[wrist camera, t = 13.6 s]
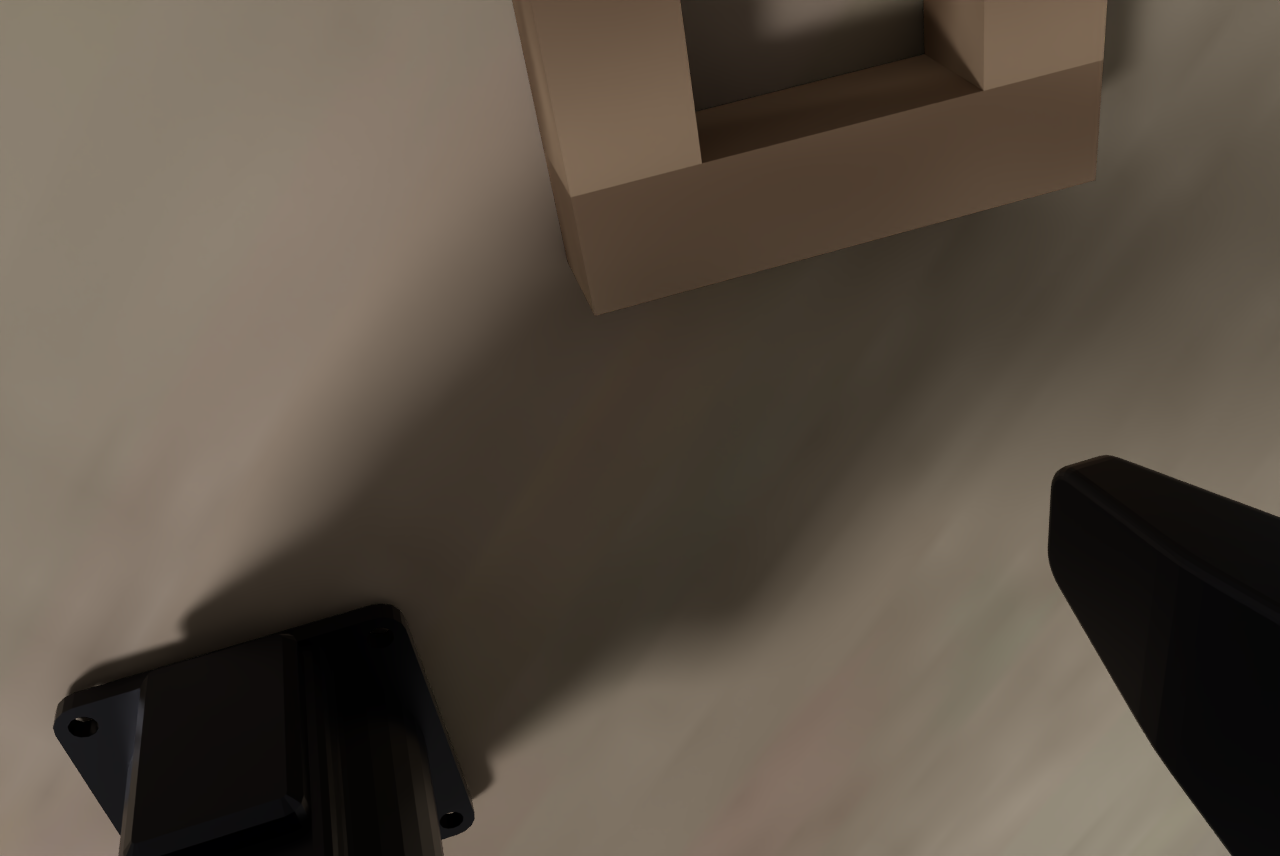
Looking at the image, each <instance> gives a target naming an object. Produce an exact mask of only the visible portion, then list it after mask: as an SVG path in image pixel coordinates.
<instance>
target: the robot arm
mask: <svg viewBox="0 0 1280 856" xmlns="http://www.w3.org/2000/svg"><path fill="white" fill-rule="evenodd" d="M1048 558H1049V564H1050V567H1051V571H1052V573H1053V576H1054V578H1055V581H1056V582H1057V584H1058V586H1059V588H1060V590H1061V591H1062V593H1063V595H1064V597H1065V598H1066V600H1067V602H1068V603H1069V605H1070V607H1071V609H1072V610H1073V612H1074V614H1075V616H1076V617H1077V619H1078V621H1079V622H1080V624H1081V626H1082V628H1083V629H1084V631H1085V633H1086V634H1087V636H1088V638H1089V640H1090V641H1091V643H1092V645H1093V647H1094V648H1095V650H1096V652H1097V653H1098V655H1099V657H1100V659H1101V660H1102V662H1103V664H1104V665H1105V667H1106V669H1107V671H1108V672H1109V674H1110V676H1111V678H1112V679H1113V681H1114V683H1115V684H1116V686H1117V688H1118V690H1119V691H1120V693H1121V695H1122V696H1123V698H1124V700H1125V702H1126V703H1127V705H1128V707H1129V709H1130V710H1131V712H1132V714H1133V715H1134V717H1135V719H1136V721H1137V722H1138V724H1139V726H1140V727H1141V729H1142V730H1143V732H1144V734H1145V735H1146V737H1147V738H1148V740H1149V742H1150V743H1151V745H1152V747H1153V748H1154V750H1155V751H1156V753H1157V754H1158V755H1159V757H1160V758H1161V760H1162V761H1163V763H1164V764H1165V765H1166V767H1167V768H1168V770H1169V771H1170V773H1171V774H1172V775H1173V777H1174V778H1175V780H1176V781H1177V782H1178V784H1179V785H1180V786H1181V788H1182V789H1183V790H1184V792H1185V793H1186V795H1187V796H1188V797H1189V799H1190V800H1191V801H1192V803H1193V804H1194V805H1195V807H1196V808H1197V809H1198V811H1199V812H1200V813H1201V815H1202V816H1203V818H1204V819H1205V820H1206V822H1207V823H1208V824H1209V826H1210V827H1211V828H1212V830H1213V831H1214V832H1215V834H1216V835H1217V837H1218V838H1219V839H1220V841H1221V842H1222V843H1223V845H1224V846H1225V847H1226V849H1227V850H1228V851H1229V853H1230V854H1231V855H1232V856H1280V517H1278V516H1275V515H1272V514H1270V513H1267V512H1264V511H1261V510H1259V509H1256V508H1253V507H1251V506H1248V505H1245V504H1243V503H1240V502H1237V501H1234V500H1232V499H1229V498H1226V497H1224V496H1221V495H1218V494H1216V493H1213V492H1210V491H1208V490H1205V489H1202V488H1199V487H1197V486H1194V485H1191V484H1189V483H1186V482H1183V481H1181V480H1178V479H1175V478H1172V477H1170V476H1167V475H1164V474H1162V473H1159V472H1156V471H1154V470H1151V469H1148V468H1146V467H1143V466H1140V465H1137V464H1135V463H1132V462H1129V461H1127V460H1124V459H1121V458H1118V457H1115V456H1109V455H1104V456H1098V457H1095V458H1091V459H1088V460H1085V461H1081V462H1078V463H1075V464H1071V465H1068V466H1065V467H1063V468H1061V469H1060V470H1058V471H1057V472H1056V474H1055V475H1054V477H1053V480H1052V485H1051V496H1050V516H1049V535H1048ZM376 628H387V629H389V630H388V631H387V632H385V633H383V634H372V633H370V631H372V630H374V629H376ZM78 717H88V718H92V719H94V720H92V721H86V722H83V721H79V720H76V718H78ZM53 729H54V733H55V736H56V737H57V739H58V740H59V742H60V743H61V745H62V746H63V748H64V750H65V751H66V753H67V754H68V756H69V757H70V759H71V760H72V762H73V763H74V765H75V767H76V768H77V770H78V771H79V773H80V774H81V776H82V777H83V779H84V780H85V782H86V783H87V785H88V787H89V788H90V790H91V791H92V793H93V794H94V796H95V797H96V799H97V800H98V802H99V804H100V805H101V807H102V808H103V810H104V811H105V813H106V814H107V816H108V817H109V819H110V820H111V822H112V824H113V825H114V827H115V828H116V830H117V831H118V833H119V834H120V836H121V837H120V846H119V856H444V853H443V847H442V839H445V838H448V837H451V836H455V835H457V834H460V833H462V832H464V831H466V830H467V829H468V828H469V827H470V826H471V825H472V823H473V821H474V819H475V817H474V809H473V804H472V798H471V796H470V793H469V790H468V788H467V785H466V782H465V779H464V777H463V774H462V771H461V769H460V766H459V763H458V760H457V758H456V755H455V752H454V750H453V747H452V744H451V741H450V739H449V736H448V733H447V731H446V728H445V725H444V722H443V720H442V717H441V714H440V712H439V709H438V706H437V704H436V701H435V698H434V695H433V693H432V690H431V687H430V685H429V682H428V679H427V676H426V674H425V671H424V668H423V666H422V663H421V660H420V657H419V655H418V652H417V649H416V647H415V644H414V641H413V638H412V636H411V633H410V630H409V628H408V625H407V622H406V619H405V617H404V615H403V614H402V612H401V611H400V610H399V609H398V608H396V607H394V606H392V605H388V604H375V605H370V606H366V607H363V608H360V609H356V610H353V611H349V612H346V613H343V614H339V615H336V616H333V617H329V618H326V619H322V620H319V621H316V622H312V623H309V624H306V625H302V626H299V627H295V628H292V629H289V630H285V631H282V632H279V633H275V634H272V635H268V636H265V637H262V638H258V639H255V640H252V641H248V642H245V643H241V644H238V645H235V646H231V647H228V648H225V649H221V650H218V651H214V652H211V653H208V654H204V655H201V656H198V657H194V658H191V659H187V660H184V661H181V662H177V663H174V664H171V665H167V666H164V667H160V668H157V669H154V670H150V671H147V672H144V673H140V674H137V675H133V676H130V677H127V678H123V679H120V680H117V681H113V682H110V683H106V684H103V685H100V686H96V687H93V688H90V689H86V690H83V691H79V692H76V693H73V694H71V695H69V696H67V697H65V698H64V699H63V700H62V701H61V702H60V703H59V704H58V707H57V710H56V714H55V720H54V725H53ZM450 812H453V813H450ZM447 813H450V814H447Z"/></svg>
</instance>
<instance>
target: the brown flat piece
mask: <svg viewBox="0 0 1280 856" xmlns="http://www.w3.org/2000/svg"><path fill="white" fill-rule="evenodd" d="M512 2H513V7H514V11H515V16H516V21H517V25H518V30H519V35H520V40H521V44H522V49H523V54H524V58H525V63H526V68H527V73H528V77H529V82H530V87H531V91H532V96H533V101H534V106H535V110H536V115H537V120H538V124H539V129H540V134H541V139H542V143H543V148H544V153H545V157H546V162H547V167H548V172H549V176H550V181H551V186H552V190H553V195H554V200H555V205H556V209H557V214H558V219H559V223H560V228H561V233H562V238H563V242H564V247H565V252H566V256H567V261H568V264H569V266H570V268H571V270H572V272H573V274H574V276H575V277H576V279H577V281H578V283H579V285H580V287H581V289H582V291H583V293H584V295H585V297H586V299H587V301H588V303H589V305H590V307H591V309H592V311H593V313H594V315H595V316H597V315H601V314H605V313H608V312H612V311H616V310H619V309H623V308H627V307H630V306H634V305H638V304H641V303H645V302H649V301H652V300H656V299H660V298H664V297H667V296H671V295H675V294H678V293H682V292H686V291H689V290H693V289H697V288H700V287H704V286H708V285H711V284H715V283H719V282H722V281H726V280H730V279H733V278H737V277H741V276H744V275H748V274H752V273H755V272H759V271H763V270H767V269H770V268H774V267H778V266H781V265H785V264H789V263H792V262H796V261H800V260H803V259H807V258H811V257H814V256H818V255H822V254H825V253H829V252H833V251H836V250H840V249H844V248H847V247H851V246H855V245H858V244H862V243H866V242H869V241H873V240H877V239H881V238H884V237H888V236H892V235H895V234H899V233H903V232H906V231H910V230H914V229H917V228H921V227H925V226H928V225H932V224H936V223H939V222H943V221H947V220H950V219H954V218H958V217H961V216H965V215H969V214H972V213H976V212H980V211H984V210H987V209H991V208H995V207H998V206H1002V205H1006V204H1009V203H1013V202H1017V201H1020V200H1024V199H1028V198H1031V197H1035V196H1039V195H1042V194H1046V193H1050V192H1053V191H1057V190H1061V189H1064V188H1068V187H1072V186H1075V185H1079V184H1083V183H1087V182H1090V181H1094V180H1095V179H1096V164H1097V148H1098V133H1099V118H1100V103H1101V88H1102V73H1103V58H1104V42H1105V27H1106V12H1107V0H923V4H924V54H923V55H919V56H915V57H911V58H907V59H903V60H899V61H895V62H891V63H887V64H883V65H879V66H875V67H871V68H867V69H863V70H859V71H855V72H851V73H847V74H844V75H840V76H836V77H832V78H828V79H824V80H820V81H816V82H812V83H808V84H804V85H800V86H796V87H792V88H788V89H784V90H780V91H776V92H772V93H768V94H764V95H760V96H756V97H752V98H748V99H744V100H740V101H737V102H733V103H729V104H725V105H721V106H717V107H713V108H709V109H705V110H701V111H697V112H695V107H694V100H693V92H692V85H691V77H690V70H689V62H688V55H687V47H686V40H685V32H684V25H683V17H682V10H681V3H680V0H512Z"/></svg>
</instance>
